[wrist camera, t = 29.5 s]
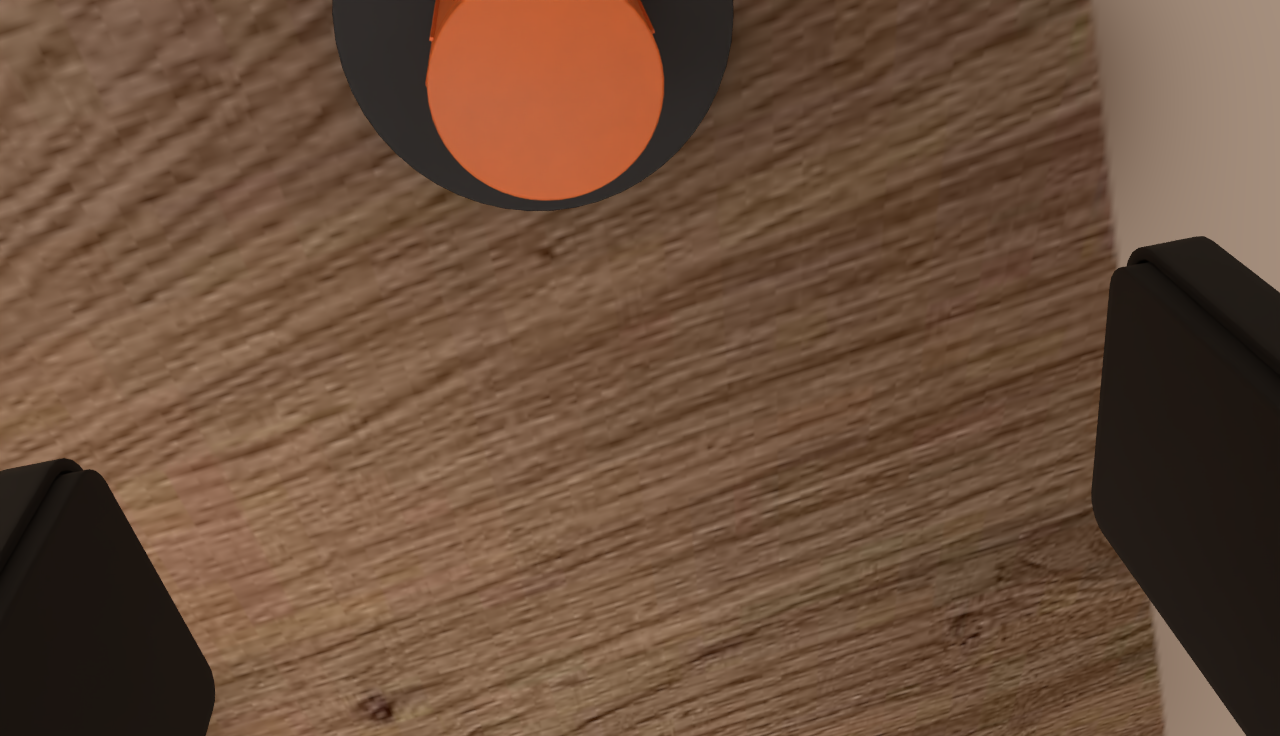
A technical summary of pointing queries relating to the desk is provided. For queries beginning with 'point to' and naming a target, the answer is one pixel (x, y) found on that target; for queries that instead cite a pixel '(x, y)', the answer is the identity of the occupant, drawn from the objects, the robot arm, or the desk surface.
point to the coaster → (398, 102)
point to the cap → (544, 91)
